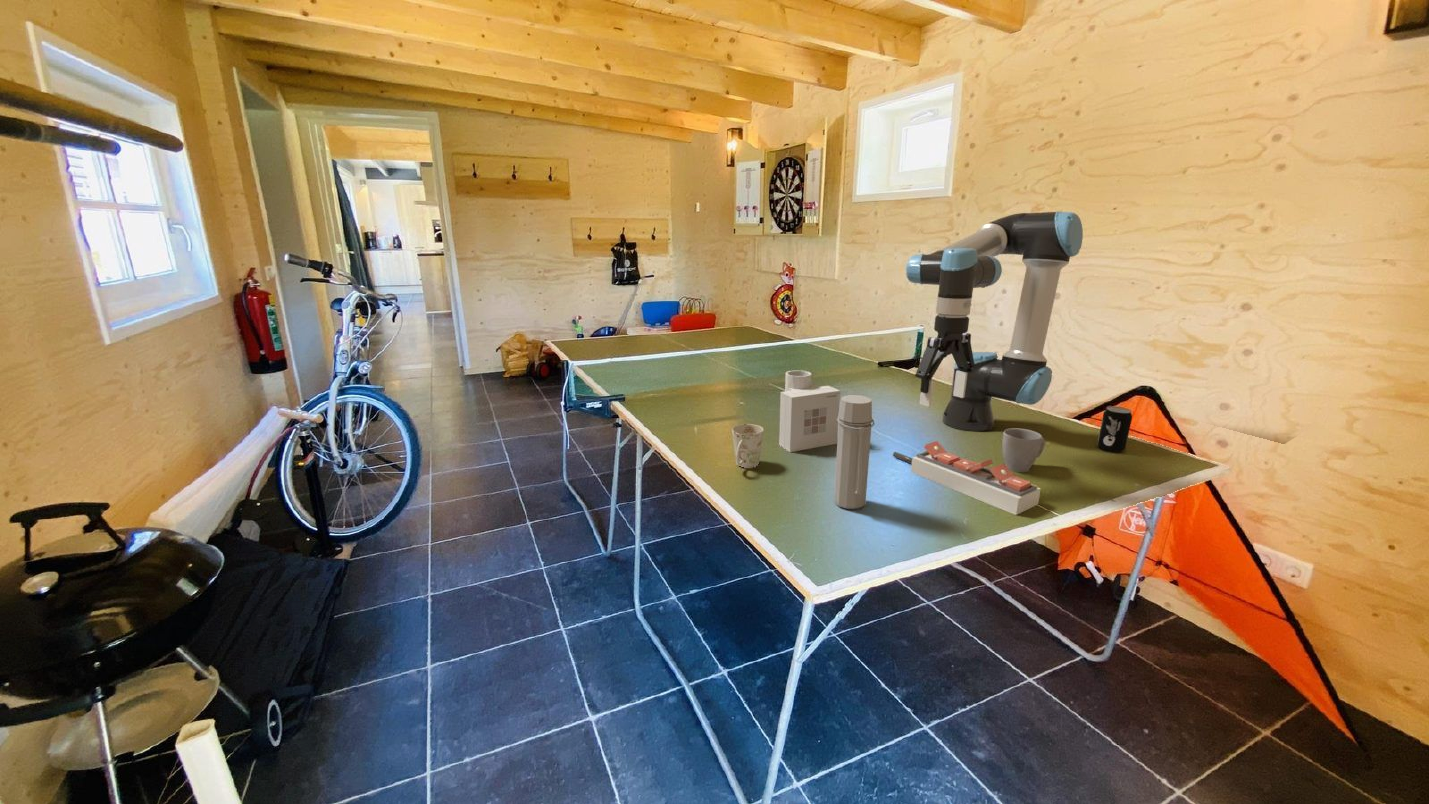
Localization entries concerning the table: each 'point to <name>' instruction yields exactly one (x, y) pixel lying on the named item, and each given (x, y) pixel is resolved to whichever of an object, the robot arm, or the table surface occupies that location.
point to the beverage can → (1114, 429)
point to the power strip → (973, 483)
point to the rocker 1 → (940, 453)
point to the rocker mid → (971, 465)
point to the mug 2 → (1021, 448)
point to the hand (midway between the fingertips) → (942, 400)
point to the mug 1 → (747, 444)
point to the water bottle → (853, 451)
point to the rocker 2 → (1009, 478)
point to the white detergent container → (807, 413)
